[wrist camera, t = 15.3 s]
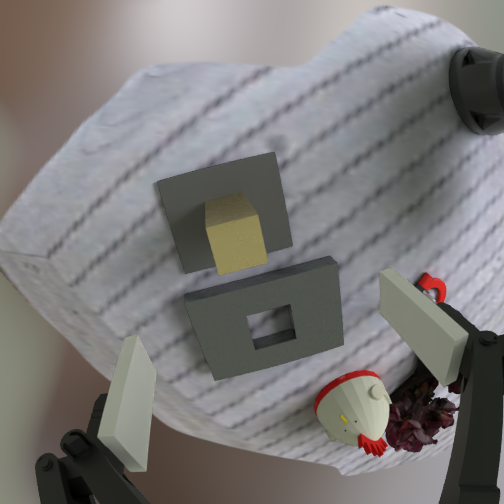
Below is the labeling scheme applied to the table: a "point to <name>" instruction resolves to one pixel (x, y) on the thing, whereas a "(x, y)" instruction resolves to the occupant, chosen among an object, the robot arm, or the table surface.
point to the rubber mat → (219, 185)
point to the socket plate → (261, 299)
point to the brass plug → (234, 233)
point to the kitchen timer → (355, 410)
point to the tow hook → (429, 283)
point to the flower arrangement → (419, 411)
